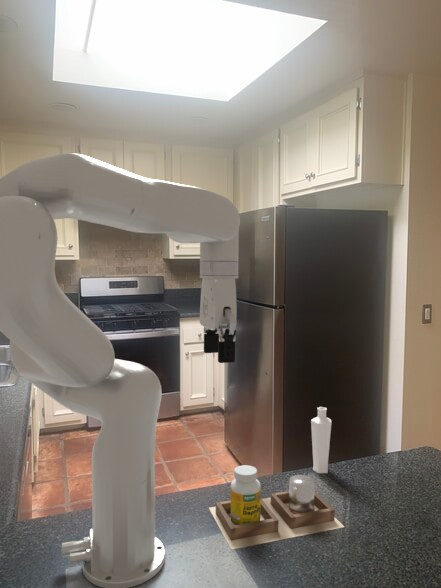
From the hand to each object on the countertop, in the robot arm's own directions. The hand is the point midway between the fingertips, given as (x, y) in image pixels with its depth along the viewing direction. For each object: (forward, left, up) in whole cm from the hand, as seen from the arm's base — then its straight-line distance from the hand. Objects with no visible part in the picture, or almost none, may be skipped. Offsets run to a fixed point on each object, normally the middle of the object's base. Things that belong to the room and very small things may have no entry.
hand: (218, 357), depth 89 cm
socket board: (+7, -12, -28) cm, 32 cm away
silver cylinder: (+12, -12, -27) cm, 32 cm away
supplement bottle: (+1, -12, -28) cm, 30 cm away
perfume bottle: (+25, +2, -28) cm, 38 cm away
